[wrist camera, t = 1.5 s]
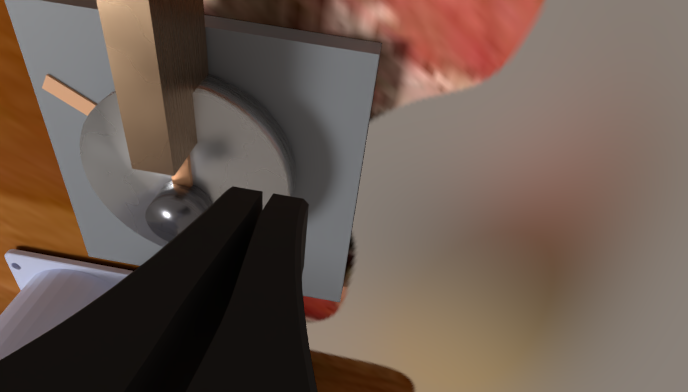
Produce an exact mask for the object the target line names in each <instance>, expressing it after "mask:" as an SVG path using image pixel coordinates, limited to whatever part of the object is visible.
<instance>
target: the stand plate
mask: <svg viewBox="0 0 688 392" xmlns="http://www.w3.org/2000/svg"><path fill="white" fill-rule="evenodd" d="M5 3H6V6H7V9H8V12H9V15H10V18H11V21H12V24H13V27H14V30H15V33H16V36H17V39H18V42H19V46H20V49H21V52H22V55H23V58H24V61H25V64H26V67H27V70H28V73H29V76H30V79H31V82H32V85H33V88H34V91H35V94H36V97H37V100H38V103H39V106H40V109H41V112H42V115H43V118H44V121H45V124H46V127H47V131H48V134H49V137H50V140H51V143H52V146H53V149H54V152H55V155H56V158H57V161H58V164H59V167H60V170H61V173H62V176H63V179H64V182H65V185H66V188H67V191H68V194H69V197H70V200H71V203H72V206H73V209H74V212H75V216H76V219H77V222H78V225H79V228H80V231H81V234H82V237H83V240H84V243H85V246H86V249H87V252H88V255H89V256H90V257H95V258H101V259H106V260H112V261H117V262H123V263H128V264H134V265H139V266H141V265H142V264H143V263H145V262H146V261H147V260H148V259H150V258H151V257H152V256H153V255H155V254H156V253H157V252H158V251H159V250H160V249H162V248H163V247H162V246H159V245H157V244H155V243H153V242H151V241H149V240H147V239H146V238H144V237H142V236H141V235H139V234H137V233H136V232H134V231H133V230H132V229H130V228H129V227H127V226H126V225H125V224H124V223H122V222H121V221H120V220H119V219H118V218H117V217H115V216H114V214H113V213H112V212H111V211H110V210H109V209H108V208H107V207H106V206H105V205H104V204H103V202H102V201H101V200H100V199H99V197H98V196H97V194H96V193H95V191H94V190H93V188H92V187H91V185H90V183H89V181H88V179H87V177H86V174H85V171H84V168H83V166H82V161H81V156H80V135H81V131H82V128H83V124H84V122H85V120H86V118H87V116H88V115H89V113H90V112H91V111H92V110H93V108H94V107H95V106H96V105H97V104H98V103H99V102H100V101H102V100H103V99H104V98H105V97H106V96H107V95H108V94H109V93H111V92H112V91H113V90H114V89H115V86H114V81H113V77H112V72H111V67H110V63H109V58H108V53H107V48H106V44H105V39H104V34H103V30H102V25H101V20H100V16H99V11H98V6H97V1H96V0H5ZM204 19H205V32H206V45H207V58H208V71H209V74H211V75H214V76H217V77H219V78H221V79H223V80H225V81H227V82H230V83H232V84H233V85H235V86H237V87H238V88H240V89H242V90H243V91H245V92H246V93H247V94H249V95H250V96H251V97H253V98H254V99H255V100H257V101H258V102H259V103H260V104H261V105H262V106H263V107H264V108H265V109H266V110H267V111H268V112H269V113H270V114H271V116H272V117H273V118H274V119H275V120H276V122H277V123H278V124H279V126H280V128H281V129H282V131H283V132H284V134H285V136H286V138H287V140H288V142H289V144H290V146H291V149H292V152H293V155H294V160H295V166H296V183H295V189H294V192H293V195H292V197H297V198H303V199H304V200H305V201H306V202H307V203H308V204H309V208H308V221H307V234H306V246H305V259H304V269H303V273H302V291H303V296H308V297H314V298H319V299H325V300H330V301H335V302H340V299H341V294H342V289H343V283H344V277H345V270H346V264H347V258H348V252H349V245H350V239H351V233H352V227H353V220H354V214H355V208H356V201H357V195H358V189H359V183H360V176H361V170H362V164H363V158H364V152H365V145H366V139H367V133H368V126H369V120H370V114H371V108H372V101H373V95H374V89H375V83H376V76H377V70H378V64H379V58H380V51H381V45H382V43H378V42H371V41H365V40H359V39H353V38H346V37H340V36H334V35H327V34H321V33H315V32H309V31H302V30H296V29H290V28H284V27H277V26H271V25H265V24H258V23H252V22H246V21H240V20H233V19H227V18H221V17H215V16H208V15H204Z"/></svg>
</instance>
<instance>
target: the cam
mask: <svg viewBox="0 0 688 392" xmlns="http://www.w3.org/2000/svg"><path fill="white" fill-rule="evenodd" d="M96 1H97V6H98V11H99V16H100V20H101V25H102V30H103V34H104V39H105V44H106V48H107V53H108V58H109V63H110V67H111V72H112V77H113V81H114V86H115V89H114V90H113V91H112V92H111V93H109V94H108V95H107V96H106V97H105V98H104V99H103V100H102V101H100V102H99V103H98V104H97V105H96V106H95V107H94V108H93V110H92V111H91V112H90V113H89V115H88V116H87V118H86V120H85V122H84V124H83V128H82V131H81V135H80V156H81V161H82V166H83V168H84V171H85V174H86V177H87V179H88V181H89V183H90V185H91V187H92V188H93V190H94V191H95V193H96V194H97V196H98V197H99V199H100V200H101V201H102V202H103V204H104V205H105V206H106V207H107V208H108V209H109V210H110V211H111V212H112V213H113V214H114V216H115V217H117V218H118V219H119V220H120V221H121V222H122V223H124V224H125V225H126V226H127V227H129V228H130V229H132V230H133V231H134V232H136V233H137V234H139V235H141V236H142V237H144V238H146V239H147V240H149V241H151V242H153V243H155V244H157V245H159V246H162V247H164V246H165V245H166V244H168V243H169V242H170V241H171V240H172V239H173V238H175V237H176V236H177V235H178V234H179V233H180V232H182V231H183V230H184V229H185V228H186V227H187V226H188V225H190V224H191V223H192V222H193V221H194V220H195V219H196V218H197V217H198V216H200V215H201V214H202V213H203V212H204V211H205V210H206V209H207V208H208V207H209V206H210V205H211V204H213V203H214V202H215V201H216V200H217V199H218V198H219V197H220V196H221V195H222V194H223V193H224V192H225V191H226V190H228V189H229V188H231V187H232V186H234V187H240V188H245V189H251V190H257V191H263V209H264V207H265V205H266V204H267V202H268V201H269V199H270V198H271V196H272V194H273V193H274V194H280V195H286V196H291V197H292V195H293V192H294V189H295V183H296V166H295V160H294V155H293V152H292V149H291V146H290V144H289V142H288V140H287V138H286V136H285V134H284V132H283V131H282V129H281V128H280V126H279V124H278V123H277V122H276V120H275V119H274V118H273V117H272V116H271V114H270V113H269V112H268V111H267V110H266V109H265V108H264V107H263V106H262V105H261V104H260V103H259V102H258V101H257V100H255V99H254V98H253V97H251V96H250V95H249V94H247V93H246V92H245V91H243V90H242V89H240V88H238V87H237V86H235V85H233V84H232V83H230V82H227V81H225V80H223V79H221V78H219V77H217V76H214V75H211V74H209V71H208V58H207V45H206V32H205V19H204V6H203V0H96Z"/></svg>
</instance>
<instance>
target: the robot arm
mask: <svg viewBox="0 0 688 392" xmlns="http://www.w3.org/2000/svg"><path fill="white" fill-rule="evenodd" d="M308 208H309V204H308V203H307V202H306V201H305V200H304V199H303V198H297V197H291V196H286V195H280V194H274V193H273V194H272V196H271V198H270V199H269V201H268V202H267V204H266V205H265V207H264V209H263V191H257V190H251V189H245V188H240V187H234V186H232V187H231V188H229V189H228V190H226V191H225V192H224V193H223V194H222V195H221V196H220V197H219V198H218V199H217V200H216V201H215V202H214V203H213V204H211V205H210V206H209V207H208V208H207V209H206V210H205V211H204V212H203V213H202V214H201V215H200V216H198V217H197V218H196V219H195V220H194V221H193V222H192V223H191V224H190V225H188V226H187V227H186V228H185V229H184V230H183V231H182V232H180V233H179V234H178V235H177V236H176V237H175V238H173V239H172V240H171V241H170V242H169V243H168V244H166V245H165V246H164V247H163V248H162V249H160V250H159V251H158V252H157V253H156V254H155V255H153V256H152V257H151V258H150V259H148V260H147V261H146V262H145V263H143V264H142V265H141V266H139V267H138V268H137V269H136V270H134V271H131V270H126V269H120V268H115V267H109V266H104V265H99V264H93V263H88V262H82V261H77V260H71V259H66V258H60V257H55V256H50V255H44V254H39V253H33V252H28V251H22V250H17V249H10V250H9V251H8V252H7V253H6V254H5V259H6V261H7V263H8V265H9V267H10V269H11V271H12V273H13V275H14V277H15V279H16V281H17V284H18V286H19V288H20V290H21V291H20V293H19V294H18V295H17V296H16V297H15V298H14V300H13V301H12V302H11V303H10V304H9V306H8V307H7V308H6V309H5V310H4V311H3V313H2V314H1V315H0V392H317V387H316V383H315V377H314V372H313V366H312V361H311V355H310V349H309V343H308V336H307V329H306V320H305V312H304V302H303V291H302V273H303V269H304V259H305V246H306V234H307V221H308Z"/></svg>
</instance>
